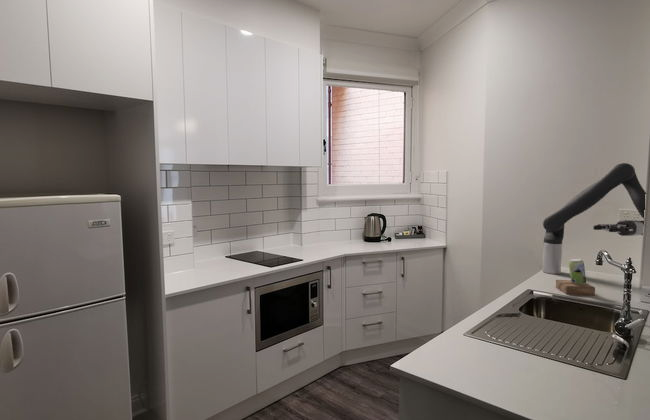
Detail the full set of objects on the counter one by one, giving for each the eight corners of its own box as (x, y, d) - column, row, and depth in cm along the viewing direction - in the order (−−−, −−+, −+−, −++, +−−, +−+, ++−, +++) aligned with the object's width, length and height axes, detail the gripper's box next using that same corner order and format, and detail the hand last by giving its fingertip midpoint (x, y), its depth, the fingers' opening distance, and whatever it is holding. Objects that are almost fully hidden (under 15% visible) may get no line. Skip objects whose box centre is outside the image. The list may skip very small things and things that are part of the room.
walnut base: (555, 287, 191) (556, 279, 191) (582, 288, 189) (582, 280, 189) (566, 294, 179) (566, 286, 179) (594, 296, 177) (595, 287, 177)
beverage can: (589, 285, 180) (590, 260, 179) (573, 285, 180) (574, 260, 179) (580, 282, 186) (581, 257, 185) (565, 282, 186) (566, 257, 185)
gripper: (617, 219, 195) (589, 219, 192) (644, 221, 181) (615, 222, 178) (616, 233, 196) (588, 234, 193) (643, 237, 182) (614, 238, 179)
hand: (601, 228), depth 186 cm, fingers open, 8 cm apart
